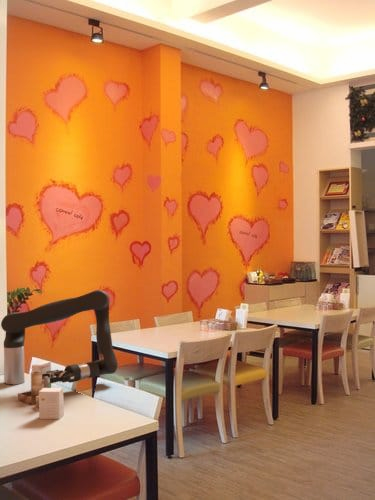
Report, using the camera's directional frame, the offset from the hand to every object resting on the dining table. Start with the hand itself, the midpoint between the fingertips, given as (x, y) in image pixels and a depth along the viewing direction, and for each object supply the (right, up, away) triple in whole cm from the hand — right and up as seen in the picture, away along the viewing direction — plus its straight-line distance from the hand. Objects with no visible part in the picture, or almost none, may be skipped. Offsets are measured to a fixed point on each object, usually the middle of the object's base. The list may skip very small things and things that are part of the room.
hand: (45, 379), depth 242 cm
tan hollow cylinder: (-3, -7, -3) cm, 8 cm away
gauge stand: (+4, -8, -13) cm, 16 cm away
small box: (+9, -8, -27) cm, 30 cm away
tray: (-3, -8, -3) cm, 9 cm away
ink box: (-5, -8, +15) cm, 17 cm away
